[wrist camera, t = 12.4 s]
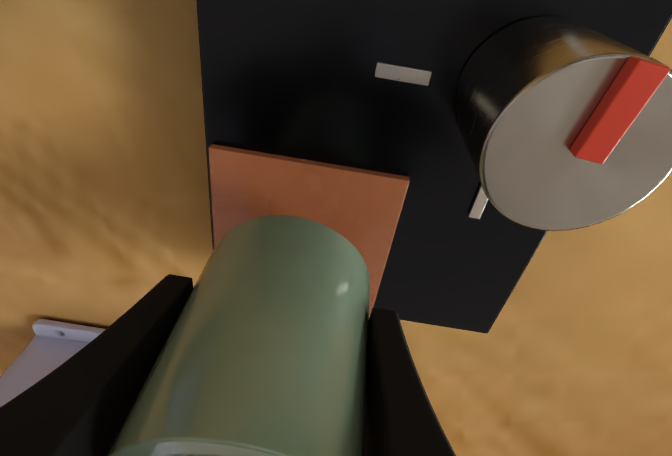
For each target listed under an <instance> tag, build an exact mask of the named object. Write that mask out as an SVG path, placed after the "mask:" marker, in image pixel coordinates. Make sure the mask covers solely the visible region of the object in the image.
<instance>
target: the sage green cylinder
mask: <svg viewBox="0 0 672 456" xmlns="http://www.w3.org/2000/svg"><path fill="white" fill-rule="evenodd" d="M369 300H370V277H369V272H368V269H367V266H366V263H365V261H364V260H363V258H362V256H361V254H360V253H359V252H358V250H357V249H356V248H355V247H354V246H353V245H352V244H351V243H350V242H349V241H348V240H347V239H346V238H345V237H343V236H342V235H341V234H339V233H338V232H336V231H335V230H333V229H331V228H330V227H327V226H325V225H323V224H321V223H319V222H316V221H313V220H310V219H306V218H301V217H297V216H288V215H269V216H261V217H257V218H253V219H250V220H247V221H244V222H242V223H240V224H238V225H236V226H234V227H233V228H231V229H230V230H229V231H227V232H226V233H225V234H224V235H223V236H222V237H221V238H220V240H219V241H218V243H217V244H216V246H215V248H214V249H213V251H212V253H211V255H210V257H209V259H208V261H207V263H206V265H205V267H204V269H203V271H202V273H201V275H200V276H199V278H198V280H197V282H196V284H195V286H194V288H193V290H192V292H191V294H190V296H189V298H188V300H187V302H186V303H185V305H184V307H183V309H182V311H181V313H180V315H179V317H178V319H177V321H176V323H175V325H174V327H173V329H172V331H171V332H170V334H169V336H168V338H167V340H166V342H165V344H164V346H163V348H162V350H161V352H160V354H159V356H158V358H157V359H156V361H155V363H154V365H153V367H152V369H151V371H150V373H149V375H148V377H147V379H146V381H145V383H144V385H143V386H142V388H141V390H140V392H139V394H138V396H137V398H136V400H135V402H134V404H133V406H132V408H131V410H130V412H129V413H128V415H127V417H126V419H125V421H124V423H123V425H122V427H121V429H120V431H119V433H118V435H117V437H116V439H115V440H114V442H113V444H112V446H111V448H110V450H109V452H108V454H107V456H365V446H366V410H367V373H368V331H369Z"/></svg>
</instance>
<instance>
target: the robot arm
mask: <svg viewBox="0 0 672 456" xmlns="http://www.w3.org/2000/svg"><path fill="white" fill-rule="evenodd" d="M192 290H193V282H192V278H189V277H183V276H176V275H170V274H169V275H167V276H166V277H165V278H164V279H163V280H161V281H160V282H159V283H158V284H157V285H156V286H155V287H154V288H153V289H151V290H150V291H149V292H148V293H147V294H146V295H145V296H144V297H143V298H142V299H140V300H139V301H138V302H137V303H136V304H135V305H134V306H133V307H131V308H130V309H129V310H128V311H127V312H126V313H125V314H123V315H122V316H121V317H120V318H119V319H118V320H116V321H115V322H114V323H113V324H112V325H110V326H109V327H108V328H107V329H103V328H97V327H90V326H84V325H78V324H71V323H65V322H59V321H53V320H46V319H38V320H36V321H35V322H34V323H33V325H32V329H33V331H34V333H35V335H36V336H35V337H34V338H33V339H32V340H31V341H30V343H29V344H28V345H27V346H26V347H25V349H24V350H23V351H22V352H21V353H20V354H19V356H18V357H17V358H16V359H15V360H14V362H13V363H12V364H11V365H10V366H9V367H8V369H7V370H6V371H5V372H4V373H3V375H2V376H1V377H0V456H107V454H108V452H109V450H110V448H111V446H112V444H113V442H114V440H115V439H116V437H117V435H118V433H119V431H120V429H121V427H122V425H123V423H124V421H125V419H126V417H127V415H128V413H129V412H130V410H131V408H132V406H133V404H134V402H135V400H136V398H137V396H138V394H139V392H140V390H141V388H142V386H143V385H144V383H145V381H146V379H147V377H148V375H149V373H150V371H151V369H152V367H153V365H154V363H155V361H156V359H157V358H158V356H159V354H160V352H161V350H162V348H163V346H164V344H165V342H166V340H167V338H168V336H169V334H170V332H171V331H172V329H173V327H174V325H175V323H176V321H177V319H178V317H179V315H180V313H181V311H182V309H183V307H184V305H185V303H186V302H187V300H188V298H189V296H190V294H191V292H192ZM365 456H456V455H455V453H454V451H453V449H452V447H451V445H450V443H449V441H448V439H447V437H446V435H445V433H444V431H443V429H442V427H441V425H440V423H439V421H438V419H437V417H436V415H435V412H434V410H433V408H432V406H431V404H430V401H429V399H428V397H427V394H426V392H425V390H424V387H423V385H422V382H421V380H420V377H419V375H418V373H417V370H416V367H415V365H414V362H413V360H412V357H411V354H410V351H409V348H408V345H407V342H406V339H405V336H404V333H403V330H402V326H401V323H400V319H399V315H398V314H397V312H396V311H393V310H387V309H381V308H375V307H373V308H372V311H371V315H370V318H369V331H368V373H367V410H366V446H365Z"/></svg>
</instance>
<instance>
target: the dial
mask: <svg viewBox="0 0 672 456" xmlns="http://www.w3.org/2000/svg"><path fill="white" fill-rule="evenodd" d="M454 114H455V119H456V122H457V125H458V128H459V130H460V133H461V135H462V138H463V140H464V143H465V145H466V148H467V150H468V153H469V155H470V158H471V160H472V163H473V165H474V168H475V170H476V173H477V175H478V178H479V180H480V183H481V185H482V188H483V190H484V193H485V195H486V196H487V198H488V200H489V201H490V203H491V204H492V205H493V206H494V208H495V209H496V210H498V211H499V212H500V213H501V214H502V215H504V216H505V217H507V218H508V219H510V220H512V221H514V222H516V223H518V224H520V225H523V226H526V227H530V228H534V229H539V230H550V231H561V230H572V229H578V228H583V227H588V226H591V225H594V224H598V223H601V222H603V221H606V220H608V219H611V218H613V217H615V216H617V215H619V214H621V213H623V212H625V211H627V210H628V209H630V208H632V207H633V206H635V205H636V204H638V203H639V202H641V201H642V200H643V199H645V198H646V197H647V196H648V195H650V194H651V193H652V192H653V191H654V190H655V189H656V188H658V186H659V185H660V184H661V183H662V182H663V181H664V180H665V179H666V178H667V177H668V175H669V174H670V173H671V172H672V70H671V69H670V68H669V67H668V66H666V65H664V64H663V63H661V62H659V61H658V60H656V59H654V58H651V57H649V56H647V55H645V54H643V53H641V52H639V51H637V50H634V49H632V48H630V47H628V46H626V45H624V44H622V43H620V42H617V41H615V40H613V39H611V38H609V37H607V36H605V35H603V34H600V33H598V32H596V31H594V30H592V29H590V28H588V27H586V26H583V25H581V24H579V23H577V22H575V21H572V20H569V19H566V18H561V17H553V16H543V17H534V18H530V19H525V20H522V21H520V22H517V23H514V24H512V25H510V26H508V27H506V28H504V29H502V30H501V31H499V32H497V33H496V34H494V35H493V36H492V37H491V38H489V39H488V40H487V41H486V42H484V43H483V44H482V45H481V46H480V47H479V48H478V49H477V51H476V52H475V53H474V54H473V55H472V57H471V58H470V59H469V61H468V63H467V64H466V66H465V67H464V69H463V71H462V73H461V75H460V78H459V80H458V83H457V86H456V91H455V96H454Z"/></svg>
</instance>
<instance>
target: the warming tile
mask: <svg viewBox="0 0 672 456" xmlns="http://www.w3.org/2000/svg"><path fill="white" fill-rule="evenodd" d="M208 149H209V165H210V181H211V198H212V214H213V230H214V247H215V246H216V244H217V243H218V241H219V240H220V238H221V237H222V236H223V235H224V234H225V233H226V232H227V231H229V230H230V229H231V228H233V227H234V226H236V225H238V224H240V223H242V222H244V221H247V220H250V219H253V218H257V217H261V216H269V215H288V216H297V217H301V218H306V219H310V220H313V221H316V222H319V223H321V224H323V225H325V226H327V227H330V228H331V229H333V230H335V231H336V232H338V233H339V234H341V235H342V236H343V237H345V238H346V239H347V240H348V241H349V242H350V243H351V244H352V245H353V246H354V247H355V248H356V249H357V250H358V252H359V253H360V254H361V256H362V258H363V260H364V261H365V263H366V266H367V269H368V272H369V277H370V300H369V314H371V311H372V308H373V306H374V303H375V299H376V296H377V292H378V289H379V285H380V282H381V278H382V275H383V272H384V268H385V265H386V261H387V258H388V254H389V251H390V247H391V244H392V241H393V237H394V234H395V230H396V227H397V223H398V220H399V216H400V213H401V209H402V206H403V203H404V199H405V196H406V192H407V189H408V185H409V182H410V181H409V177H408V176H402V175H396V174H390V173H384V172H378V171H372V170H366V169H360V168H354V167H348V166H342V165H336V164H330V163H324V162H318V161H312V160H306V159H299V158H293V157H287V156H281V155H275V154H269V153H263V152H257V151H251V150H245V149H239V148H233V147H227V146H221V145H215V144H211V145H210V147H209V148H208Z"/></svg>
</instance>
